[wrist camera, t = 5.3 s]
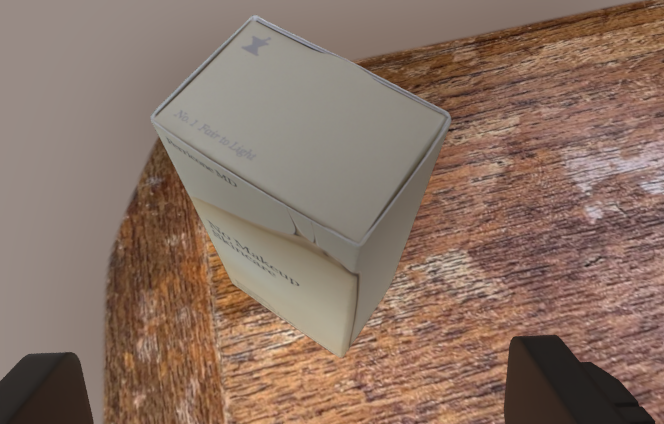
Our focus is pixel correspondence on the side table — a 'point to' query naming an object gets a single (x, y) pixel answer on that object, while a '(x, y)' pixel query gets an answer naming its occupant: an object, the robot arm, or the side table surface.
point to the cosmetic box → (302, 174)
